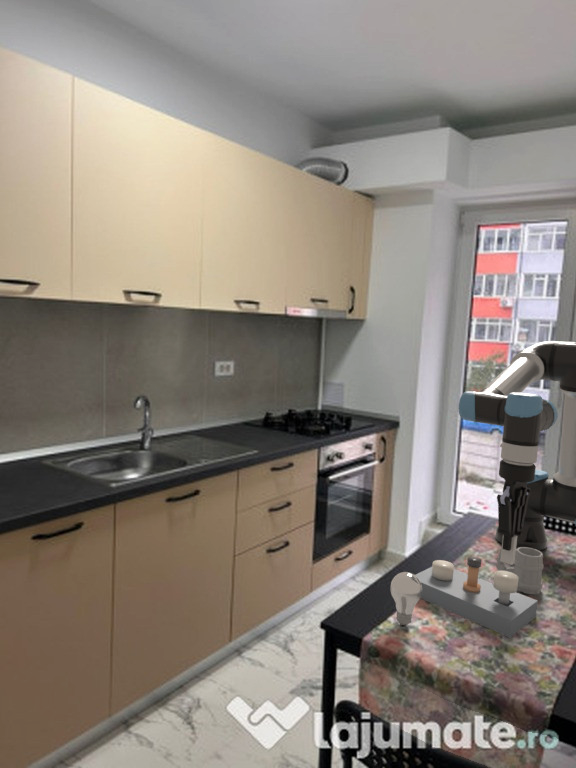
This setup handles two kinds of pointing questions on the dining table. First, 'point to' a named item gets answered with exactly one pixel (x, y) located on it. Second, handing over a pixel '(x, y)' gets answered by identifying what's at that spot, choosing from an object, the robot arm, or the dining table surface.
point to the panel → (478, 602)
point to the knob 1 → (442, 570)
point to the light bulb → (405, 595)
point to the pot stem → (472, 575)
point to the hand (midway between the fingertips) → (507, 562)
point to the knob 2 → (505, 585)
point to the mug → (526, 569)
